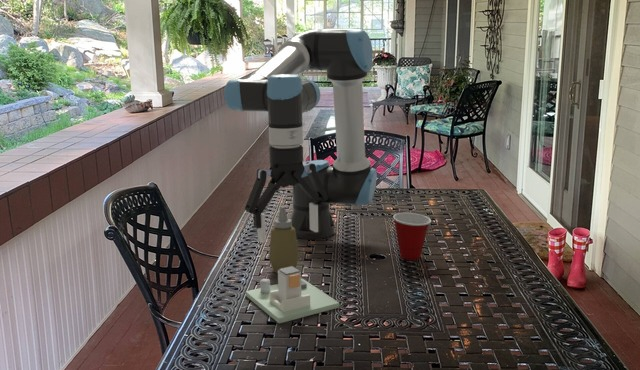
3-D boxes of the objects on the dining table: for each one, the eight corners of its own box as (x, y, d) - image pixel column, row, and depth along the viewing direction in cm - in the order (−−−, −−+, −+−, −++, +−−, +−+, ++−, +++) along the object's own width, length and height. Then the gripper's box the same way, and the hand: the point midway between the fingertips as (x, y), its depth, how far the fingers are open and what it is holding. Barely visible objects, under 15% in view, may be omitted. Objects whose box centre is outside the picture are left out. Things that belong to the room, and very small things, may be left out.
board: (245, 295, 159) (245, 280, 158) (302, 282, 167) (301, 267, 166) (278, 323, 144) (278, 306, 143) (339, 307, 152) (339, 290, 151)
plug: (278, 302, 152) (277, 268, 150) (293, 298, 154) (292, 265, 152) (288, 309, 148) (287, 275, 146) (303, 305, 150) (302, 272, 148)
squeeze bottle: (303, 267, 178) (302, 204, 173) (292, 277, 170) (291, 212, 166) (276, 263, 180) (274, 202, 176) (264, 274, 173) (262, 210, 169)
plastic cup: (429, 264, 179) (430, 223, 176) (390, 262, 181) (391, 221, 178) (430, 251, 189) (432, 212, 186) (394, 249, 191) (394, 210, 188)
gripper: (241, 154, 133) (245, 250, 139) (342, 141, 146) (342, 230, 151) (227, 148, 140) (231, 240, 145) (325, 137, 152) (326, 222, 157)
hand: (288, 235), depth 148 cm, fingers open, 13 cm apart
